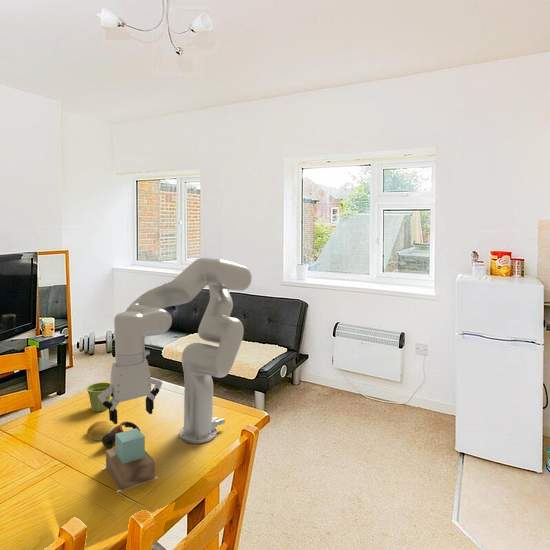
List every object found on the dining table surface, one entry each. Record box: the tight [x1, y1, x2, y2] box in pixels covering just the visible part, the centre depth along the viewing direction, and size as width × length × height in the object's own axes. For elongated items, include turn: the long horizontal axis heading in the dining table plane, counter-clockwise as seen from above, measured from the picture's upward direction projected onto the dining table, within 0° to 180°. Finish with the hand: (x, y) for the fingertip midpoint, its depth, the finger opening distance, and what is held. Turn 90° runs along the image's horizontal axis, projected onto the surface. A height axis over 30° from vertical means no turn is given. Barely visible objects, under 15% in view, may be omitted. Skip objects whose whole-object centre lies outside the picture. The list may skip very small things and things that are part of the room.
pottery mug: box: [101, 421, 141, 449], centre depth 130 cm, size 12×10×8 cm
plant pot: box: [86, 382, 111, 413], centre depth 157 cm, size 9×9×9 cm
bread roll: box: [87, 420, 115, 441], centre depth 138 cm, size 8×9×4 cm
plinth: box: [105, 447, 156, 491], centre depth 114 cm, size 9×13×5 cm
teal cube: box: [114, 428, 146, 464], centre depth 114 cm, size 6×6×6 cm
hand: (132, 417), depth 114 cm, fingers open, 9 cm apart
